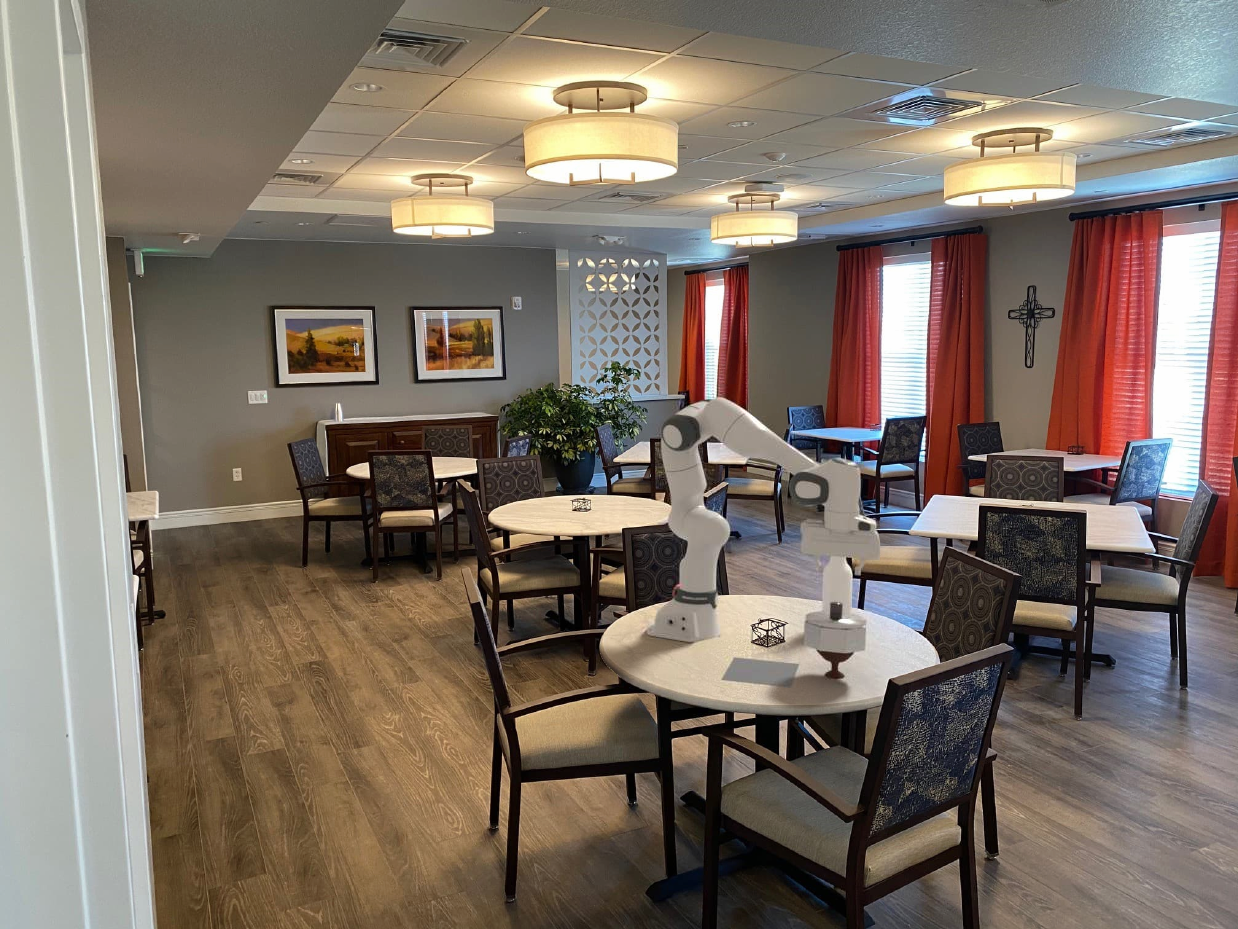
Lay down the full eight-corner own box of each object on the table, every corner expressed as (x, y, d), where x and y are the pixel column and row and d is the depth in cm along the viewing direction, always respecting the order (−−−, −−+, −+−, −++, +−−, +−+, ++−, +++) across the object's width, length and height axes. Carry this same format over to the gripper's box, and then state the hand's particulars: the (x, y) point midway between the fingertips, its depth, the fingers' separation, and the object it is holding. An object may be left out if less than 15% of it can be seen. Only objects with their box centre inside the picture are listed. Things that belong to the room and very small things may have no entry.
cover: (801, 649, 234) (803, 606, 233) (807, 634, 248) (808, 594, 248) (864, 655, 229) (866, 612, 228) (866, 639, 244) (868, 599, 243)
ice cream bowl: (857, 685, 234) (859, 629, 232) (813, 682, 236) (814, 626, 234) (855, 671, 244) (856, 617, 242) (812, 668, 246) (814, 615, 245)
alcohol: (820, 623, 286) (822, 530, 283) (848, 624, 286) (851, 530, 282) (823, 632, 278) (825, 536, 274) (852, 632, 277) (855, 536, 273)
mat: (721, 681, 237) (721, 679, 237) (734, 658, 254) (734, 657, 254) (790, 688, 232) (790, 687, 232) (799, 665, 249) (799, 663, 249)
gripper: (799, 520, 235) (797, 572, 237) (881, 525, 229) (878, 579, 231) (802, 516, 241) (800, 567, 243) (881, 521, 235) (879, 573, 237)
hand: (839, 573), depth 237 cm, fingers open, 8 cm apart
